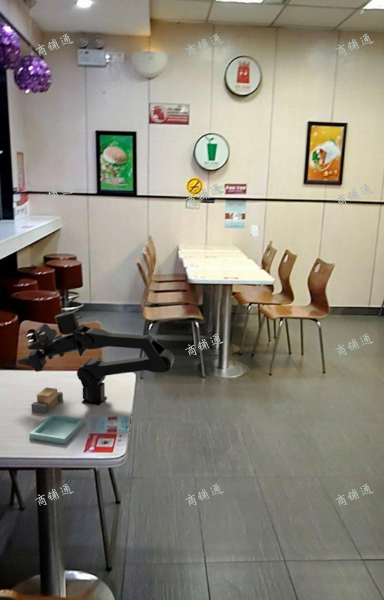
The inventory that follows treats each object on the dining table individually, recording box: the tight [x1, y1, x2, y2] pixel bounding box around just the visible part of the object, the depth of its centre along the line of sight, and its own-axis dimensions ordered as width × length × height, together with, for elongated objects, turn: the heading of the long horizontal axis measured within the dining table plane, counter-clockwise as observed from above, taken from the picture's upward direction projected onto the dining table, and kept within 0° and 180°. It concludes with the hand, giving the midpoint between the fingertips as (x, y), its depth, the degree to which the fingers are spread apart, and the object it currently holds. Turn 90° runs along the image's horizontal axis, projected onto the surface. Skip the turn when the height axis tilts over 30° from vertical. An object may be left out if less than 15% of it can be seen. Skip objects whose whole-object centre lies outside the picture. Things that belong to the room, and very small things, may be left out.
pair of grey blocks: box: [30, 391, 64, 414], centre depth 161 cm, size 5×11×2 cm, turn 166°
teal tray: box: [29, 413, 86, 446], centre depth 144 cm, size 11×13×2 cm
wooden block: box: [36, 386, 58, 410], centre depth 161 cm, size 4×6×5 cm, turn 166°
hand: (23, 354), depth 166 cm, fingers open, 9 cm apart
